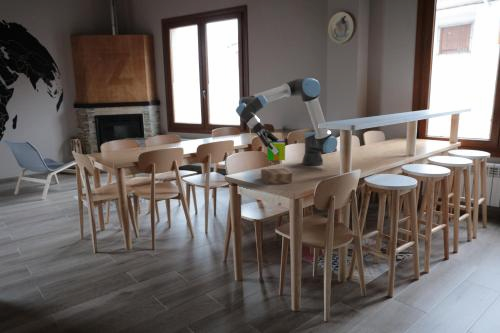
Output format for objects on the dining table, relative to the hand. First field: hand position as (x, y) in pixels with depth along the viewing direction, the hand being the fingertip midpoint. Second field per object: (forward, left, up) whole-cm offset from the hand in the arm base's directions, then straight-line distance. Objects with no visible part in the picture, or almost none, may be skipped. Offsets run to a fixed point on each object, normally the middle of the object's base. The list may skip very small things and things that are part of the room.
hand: (280, 151), depth 235 cm
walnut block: (+2, -1, -18) cm, 19 cm away
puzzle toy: (+2, -1, -5) cm, 5 cm away
